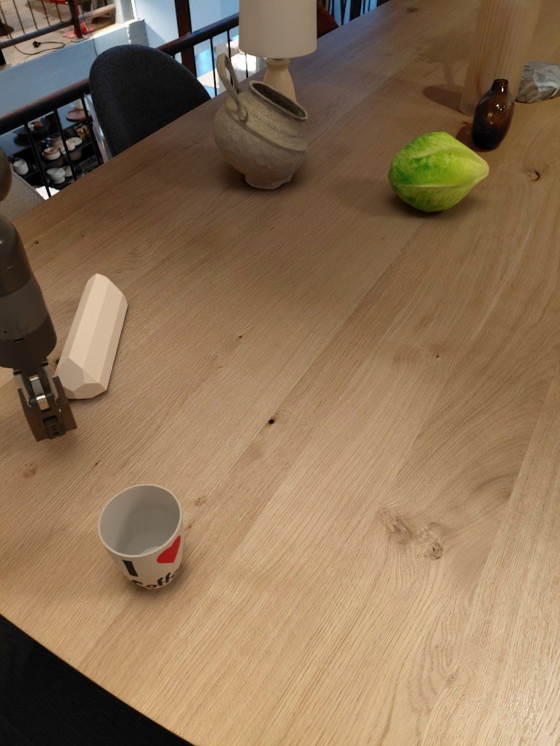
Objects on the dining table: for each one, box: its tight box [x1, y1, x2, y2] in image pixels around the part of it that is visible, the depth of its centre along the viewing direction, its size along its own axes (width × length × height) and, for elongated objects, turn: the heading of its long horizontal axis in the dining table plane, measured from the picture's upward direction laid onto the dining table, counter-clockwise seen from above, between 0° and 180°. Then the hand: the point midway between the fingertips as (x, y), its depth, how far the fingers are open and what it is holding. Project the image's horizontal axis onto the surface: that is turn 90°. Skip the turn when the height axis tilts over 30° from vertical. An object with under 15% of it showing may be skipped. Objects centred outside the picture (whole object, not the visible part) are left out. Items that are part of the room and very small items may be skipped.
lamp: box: [238, 0, 318, 102], centre depth 136 cm, size 19×19×37 cm
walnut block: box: [16, 376, 78, 443], centre depth 70 cm, size 5×5×5 cm
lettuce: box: [387, 131, 490, 213], centre depth 116 cm, size 15×20×14 cm
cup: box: [97, 483, 185, 590], centre depth 59 cm, size 8×8×10 cm
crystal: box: [53, 272, 128, 400], centre depth 86 cm, size 7×7×24 cm
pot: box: [212, 52, 309, 190], centre depth 120 cm, size 21×21×25 cm
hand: (52, 419), depth 72 cm, fingers closed on walnut block, 5 cm apart
